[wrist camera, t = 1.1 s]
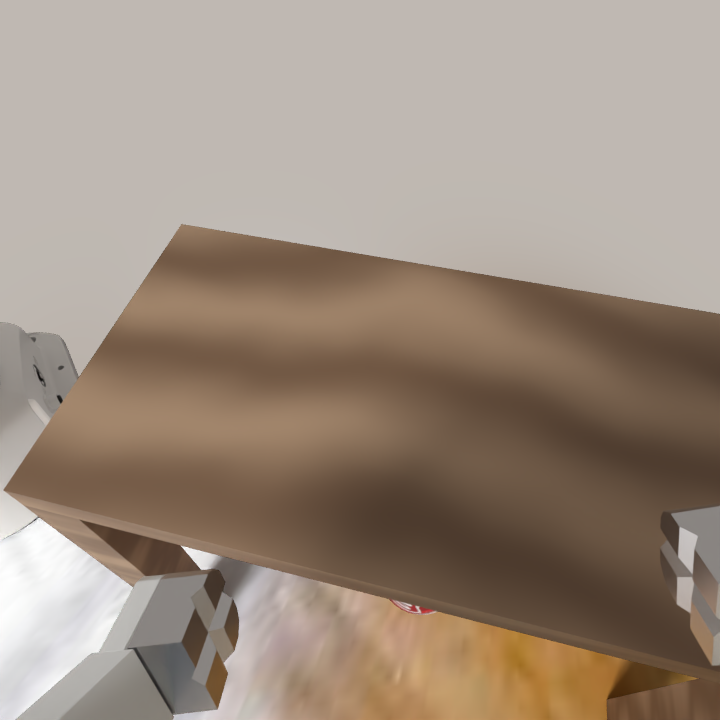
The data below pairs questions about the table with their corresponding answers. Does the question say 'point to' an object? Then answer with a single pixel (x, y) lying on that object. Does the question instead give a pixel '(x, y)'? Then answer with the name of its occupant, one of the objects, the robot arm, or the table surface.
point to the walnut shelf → (399, 443)
